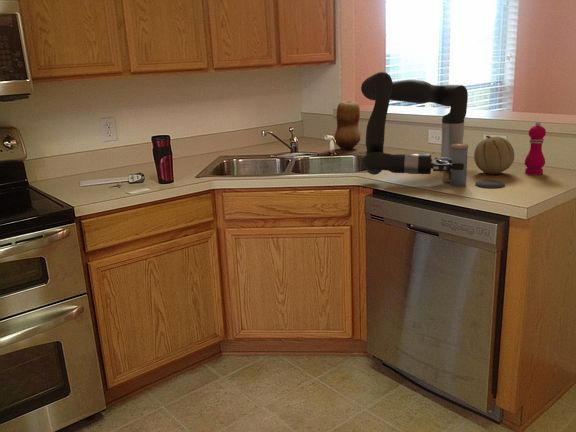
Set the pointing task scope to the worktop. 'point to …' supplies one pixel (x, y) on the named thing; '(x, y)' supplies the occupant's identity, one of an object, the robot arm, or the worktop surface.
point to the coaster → (490, 184)
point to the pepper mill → (535, 151)
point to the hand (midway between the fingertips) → (463, 164)
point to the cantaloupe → (494, 155)
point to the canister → (459, 157)
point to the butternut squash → (347, 125)
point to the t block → (447, 176)
